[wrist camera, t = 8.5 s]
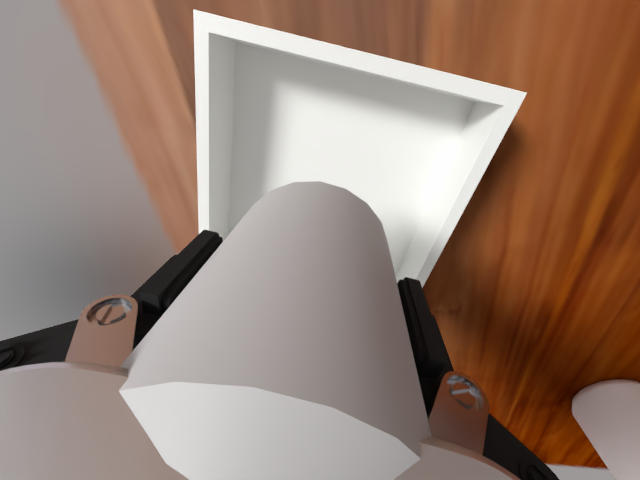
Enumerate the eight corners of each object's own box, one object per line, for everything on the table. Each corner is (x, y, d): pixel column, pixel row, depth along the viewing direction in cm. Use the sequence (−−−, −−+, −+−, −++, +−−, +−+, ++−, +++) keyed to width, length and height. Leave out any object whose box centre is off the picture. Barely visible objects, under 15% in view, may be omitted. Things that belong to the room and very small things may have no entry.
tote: (486, 90, 19) (527, 92, 14) (395, 286, 28) (403, 323, 23) (230, 26, 18) (193, 9, 14) (223, 245, 27) (199, 276, 23)
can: (370, 305, 16) (402, 688, 6) (248, 286, 17) (76, 622, 6) (402, 186, 13) (641, 666, 2) (244, 165, 13) (-213, 502, 2)
